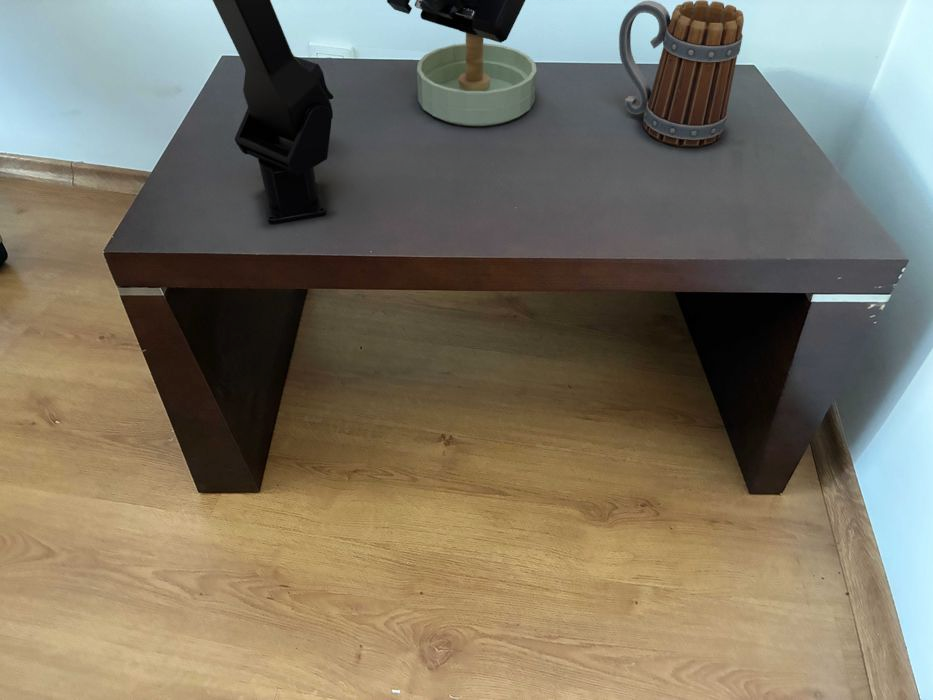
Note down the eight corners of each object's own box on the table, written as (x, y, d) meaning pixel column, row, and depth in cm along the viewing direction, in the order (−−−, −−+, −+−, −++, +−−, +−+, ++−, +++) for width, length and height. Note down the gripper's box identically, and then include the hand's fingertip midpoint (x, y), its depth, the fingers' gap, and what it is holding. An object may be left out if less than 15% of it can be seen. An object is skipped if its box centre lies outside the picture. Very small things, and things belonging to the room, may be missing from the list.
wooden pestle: (494, 82, 101) (497, -24, 91) (483, 95, 98) (485, -14, 88) (465, 77, 102) (465, -28, 93) (453, 90, 99) (452, -18, 90)
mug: (732, 123, 96) (765, 6, 86) (709, 157, 90) (741, 35, 79) (623, 96, 102) (641, -16, 91) (594, 127, 95) (610, 9, 85)
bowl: (551, 119, 97) (554, 83, 93) (436, 136, 93) (435, 99, 90) (510, 71, 108) (512, 37, 104) (406, 84, 104) (404, 50, 101)
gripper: (520, -90, 77) (566, -9, 91) (394, -116, 86) (454, -38, 100) (474, 6, 78) (526, 72, 92) (355, -29, 87) (419, 37, 101)
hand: (480, 32), depth 96 cm, fingers closed on wooden pestle, 2 cm apart
